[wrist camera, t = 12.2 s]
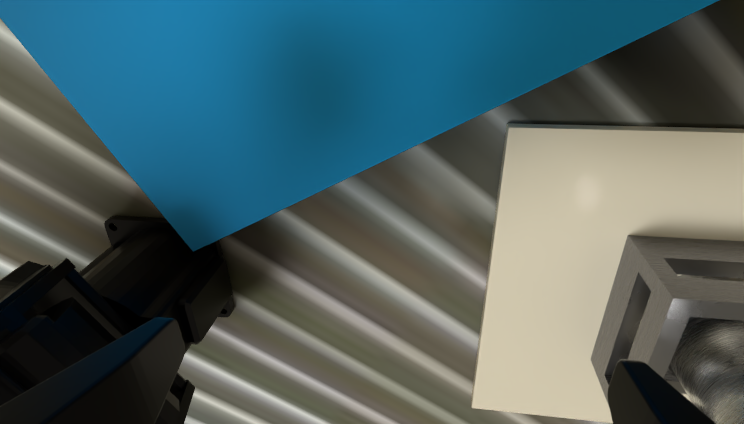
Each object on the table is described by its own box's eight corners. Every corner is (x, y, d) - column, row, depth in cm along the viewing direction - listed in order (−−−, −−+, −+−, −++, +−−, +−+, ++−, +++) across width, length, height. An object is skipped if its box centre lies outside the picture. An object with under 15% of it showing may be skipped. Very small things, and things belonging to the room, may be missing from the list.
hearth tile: (471, 399, 28) (471, 407, 27) (507, 123, 19) (508, 127, 19) (825, 436, 25) (833, 446, 25) (1048, 135, 17) (1067, 140, 16)
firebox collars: (590, 359, 24) (620, 435, 20) (627, 234, 20) (673, 298, 16) (750, 373, 23) (815, 456, 19) (821, 245, 19) (921, 315, 15)
